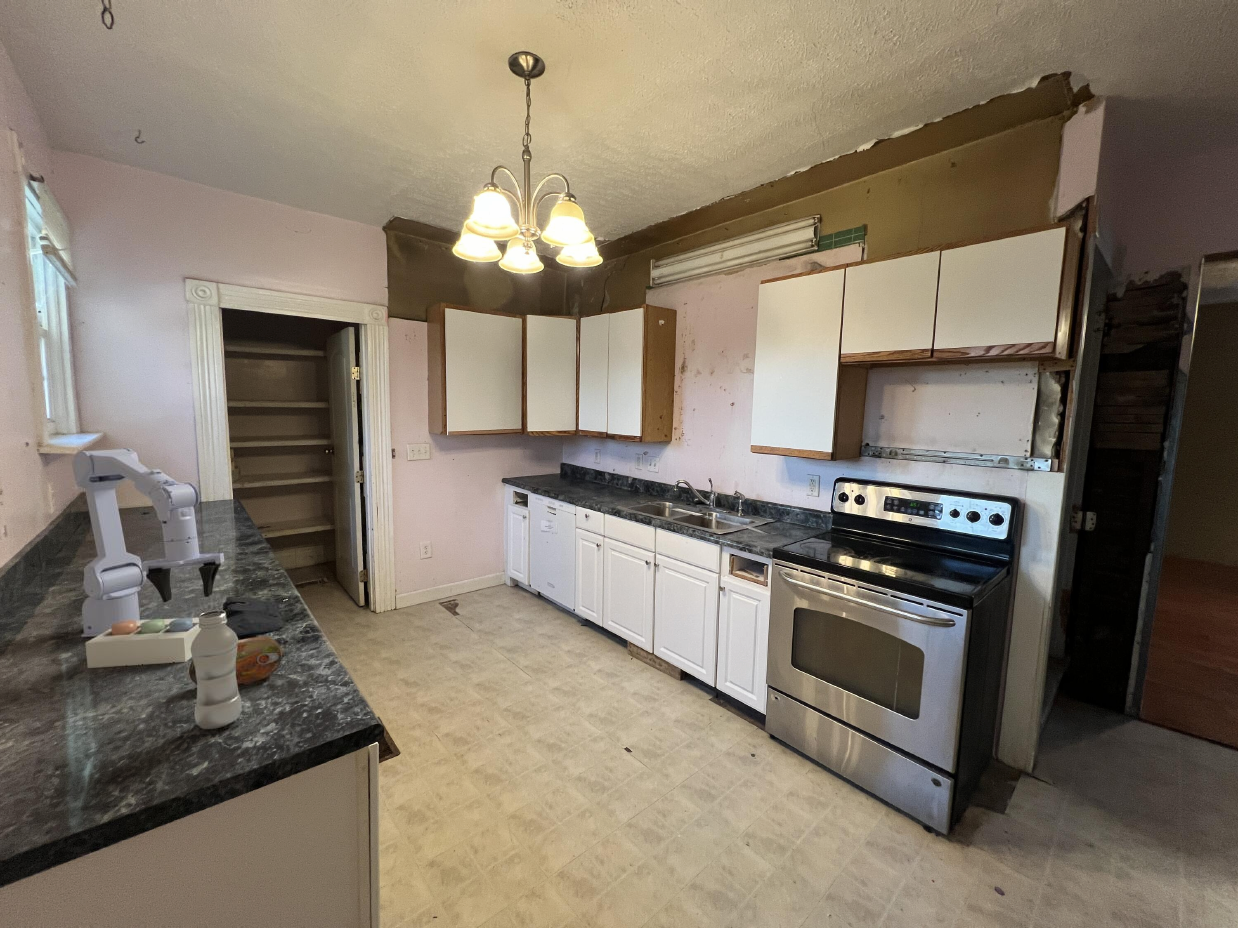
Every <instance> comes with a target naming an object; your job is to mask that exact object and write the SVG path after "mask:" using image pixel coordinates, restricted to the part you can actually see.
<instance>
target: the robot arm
mask: <svg viewBox="0 0 1238 928" xmlns="http://www.w3.org/2000/svg"><path fill="white" fill-rule="evenodd" d="M71 467H72V471H73V478H74V481H75V485H76V487H78V488H81V489H82V488H83V489H84V491H85V496H86V501H87V507H88V511H89V512H88V513H89V517H90V522H91V527H92V533H93V538H94V544H95V549H96V554H97V556H96V557H95V558H94V559H92V561H90V562H89V563H88V564H87V565H86V566H85V567H84V568H83V575H84V576H83V583H82V585H83V589H84V592H85V593H86V595H87V596H88V597H87V598H85V600H84V602H83V604H82V608H81V616H82V617H81V618H82V626H83V628H82V629H83V633H82V634H81V637H82V638H86V637H88V638H89V637H97V636H99V635H100V634H102V633H104V632H106V631H108V630H109V629H111V626H112V625H113V624H116V623H118V622H122V621H128V620H134V621H139V620H141V619H140V608H139V607H140V606H139V598H138V592H139V591H141V590H142V589H141V587H143V586H144V584H145V583H146V581H147V580H148V581H149V582H150V583H151V584H152V585H153V586H154V587H155V588H156V590H157V592H158V594H159V595H160V598H161V600H162V602H163V603H167V602H169V601H171V600H172V598H173V597H172V589H171V588H172V587H171V572H172V571H171V569H173V568H175V569H176V568H184V567H192V566H200V567H198V571H199V575H200V576H201V581H202V588H203V589H202V590H203V596H204V597H205V598H209V597H210V596H212V595H213V589H214V583H215V579H216V576H217V574H218V572H219V570H220V567H221V565H222V563H224V562H225V556H224V555H225V554H224V553H223V552H220V553H200V548H199V539H198V532H197V531H198V530H197V524H196V515H195V508H196V507H198V505H199V503H200V494H199V493H200V492H199V490H198V489H197V487H196V486H195V485H194V484H193V483H192V482H184V483H183V482H181V483H180V482H178V481H176V480H175V479H173V478H171V477H170V476H169V475H168V474H165V473H164V472H163V471H162V470H161V469H160V468H157V469H149V468H148V467H146V466H145V465H144V464H142V462H140V461H139V457H138V453H137V452H136V451H134V450H133V448H132V449H131V448H129V447H124V448H116V449H101V450H78V452H76V454H75V455H74V456H73V459H72V462H71ZM127 480H129V481H132V482H133V483H134V488H135V490H136V491H138V492H140V493H141V494H142V495H144V496H145V497H147V498H148V499H150V501H151V504H152V507H153V508H154V510H155V512H156V516H157V519H158V520H159V521H161V528H162V535H163V543H164V545H163V546H164V553H165V557H164V558H160V559H153V560H145V561H143V562H142V560H141V557H140V556H137V555H135V554H133V553H130V552H127V548H126V543H125V539H124V538H125V537H124V532H123V527H122V522H121V517H120V511H119V505H118V501H117V500H118V499H117V496H116V488H117V486H118V485H120V484H123V482H126V481H127Z"/></svg>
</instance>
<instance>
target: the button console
mask: <svg viewBox="0 0 1238 928" xmlns="http://www.w3.org/2000/svg"><path fill="white" fill-rule="evenodd" d="M191 618H192V619H193V628H191V629H190V630H189V631H187V632H170V628H169V623H170V622H171V621H173V620H176V619H177V618H164V620H165V629H164V630H162V631H161V632H159V633H151V634H141V627H140V625H141V624H142V623H143V622H146V621H149V620H150V619H140V620H139V621H136V626H137V630H136V631H134V632H133V633H131V634H129V635H114V636H112V631H111V629H109V630H108V631H106V632H104V633H102V634H100V635H99V636H94V637H93V638H92V639H90V640H88V641H86V642H85V643H84V645H85V651H86V652H85V654H86V663H87V665H86V666H87V669H93V668H108V667H124V666H126V665H127V666H138V665H139V666H140V665H141V666H143V665H155V664H156V665H157V664H170V663H171V664H172V663H173V662H175V663H187V661H188V660H190V659H192V654H191V645H192V642H193V640H194V639H195V637H196V636H197V634H198V633H199V632H200V630H201V628H199V617H191ZM142 664H143V665H142Z"/></svg>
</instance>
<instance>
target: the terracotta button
mask: <svg viewBox="0 0 1238 928" xmlns="http://www.w3.org/2000/svg"><path fill="white" fill-rule="evenodd" d="M136 630H137V626H136V621H134V620H128V621H122V622H118V623H116V624H113V625H112V626H111V631H112V636H114V635H129V634H131V633H133V632H134V631H136Z"/></svg>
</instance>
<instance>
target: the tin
mask: <svg viewBox="0 0 1238 928" xmlns="http://www.w3.org/2000/svg"><path fill="white" fill-rule="evenodd" d="M282 655H283V652H282V647H281V645H280V644H279V643H278V641H276V640H275V639H273V638H272V637H267V636H257V637H255V636H254V637H251V638H249V637H248V638H244V639H238V647H237V655H236V669H235V670H236V680H237V685H241V684H246V683H252V682H256V681H261V680H264V679H266V678H269V677H270V676H271V675H273V674H274V673H275V672H276V671H277V669H278V668H279V667H280V665H281V663H282ZM188 674H189V677H190V680H191V682H192V683H193V684H195V685H196V686H197V677H196V670H195V666H194V662H193V660H192V661H191V663H190V664H189V668H188Z"/></svg>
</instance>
